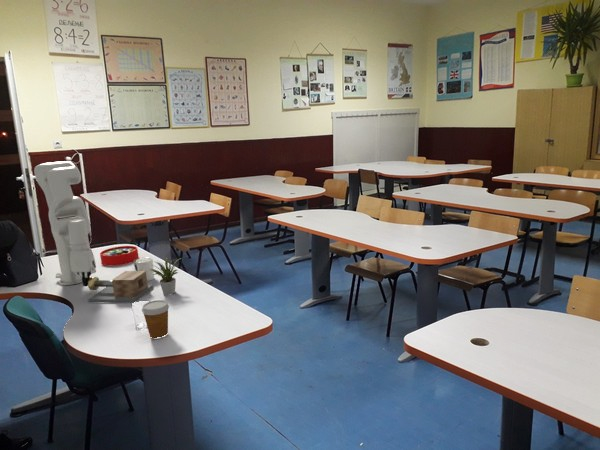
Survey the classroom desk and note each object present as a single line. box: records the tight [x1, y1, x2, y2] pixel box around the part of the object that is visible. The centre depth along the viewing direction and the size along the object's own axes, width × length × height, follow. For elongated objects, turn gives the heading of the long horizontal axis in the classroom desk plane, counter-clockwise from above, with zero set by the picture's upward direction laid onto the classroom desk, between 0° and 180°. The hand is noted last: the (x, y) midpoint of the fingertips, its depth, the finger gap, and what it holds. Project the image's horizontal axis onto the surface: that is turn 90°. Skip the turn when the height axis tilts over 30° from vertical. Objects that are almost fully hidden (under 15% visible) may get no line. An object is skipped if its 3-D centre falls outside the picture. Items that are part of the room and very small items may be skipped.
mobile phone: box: [133, 258, 139, 271], centre depth 257 cm, size 5×3×15 cm
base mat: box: [87, 284, 154, 304], centre depth 222 cm, size 22×18×2 cm
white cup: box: [136, 257, 155, 282], centre depth 241 cm, size 8×8×10 cm
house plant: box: [150, 257, 182, 296], centre depth 220 cm, size 14×14×16 cm
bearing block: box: [111, 270, 149, 297], centre depth 220 cm, size 10×12×8 cm
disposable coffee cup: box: [141, 299, 170, 339], centre depth 177 cm, size 10×10×12 cm
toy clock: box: [99, 245, 140, 267], centre depth 277 cm, size 20×6×20 cm
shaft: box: [87, 276, 113, 291], centre depth 221 cm, size 18×6×6 cm, turn 81°
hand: (86, 285), depth 223 cm, fingers closed
